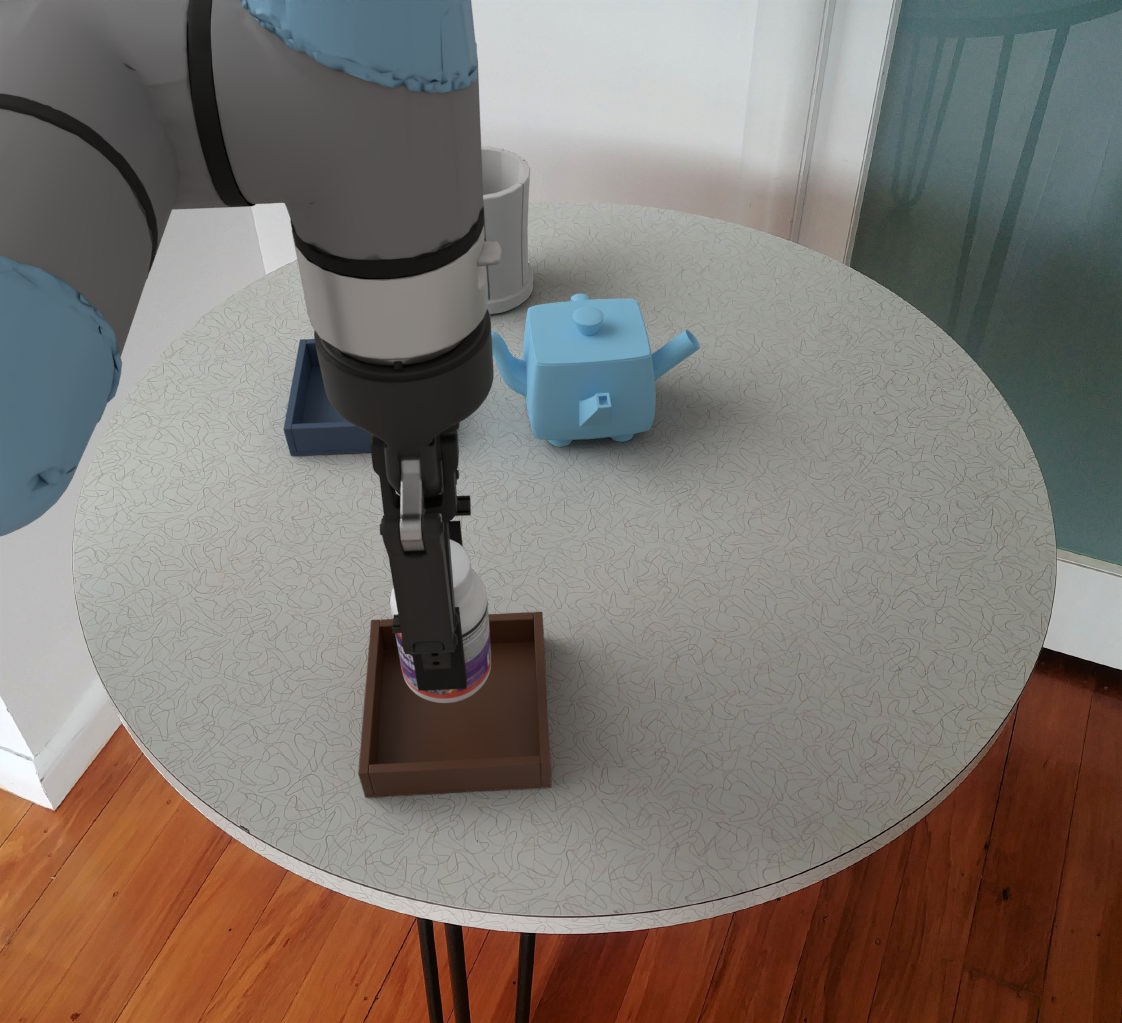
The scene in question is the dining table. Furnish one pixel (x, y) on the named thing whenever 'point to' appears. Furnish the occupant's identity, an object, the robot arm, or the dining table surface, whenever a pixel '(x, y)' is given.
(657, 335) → the dining table surface
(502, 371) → the teapot
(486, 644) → the pill bottle
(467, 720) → the near bin
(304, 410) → the far bin
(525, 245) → the cup
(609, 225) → the dining table surface
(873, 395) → the dining table surface
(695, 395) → the dining table surface
